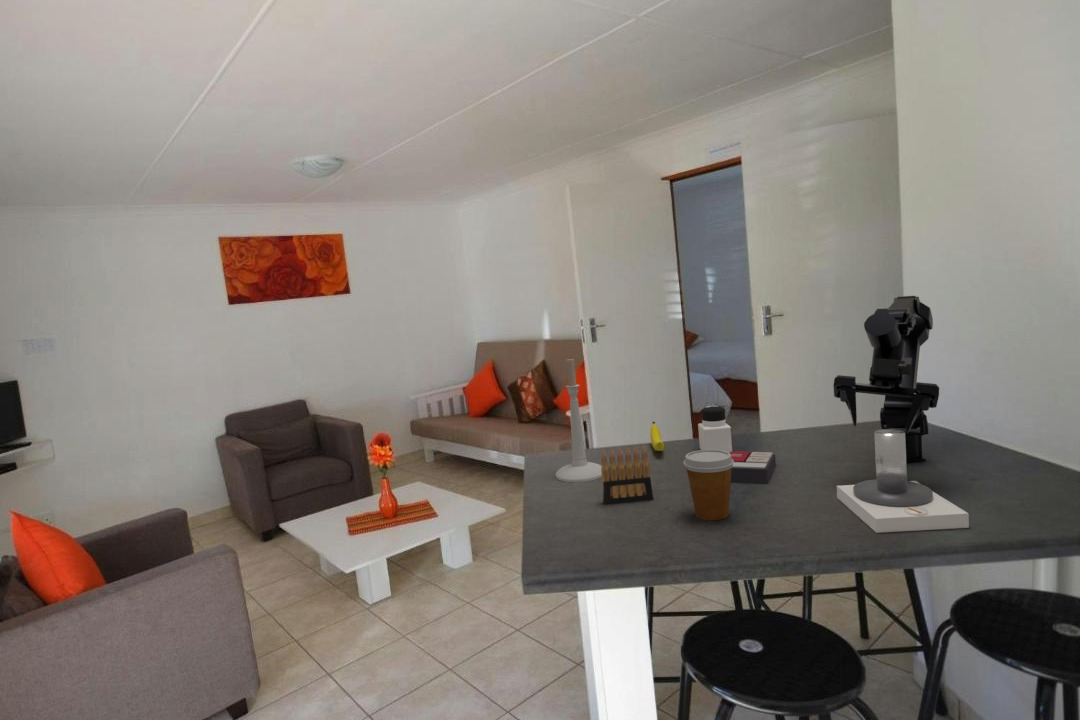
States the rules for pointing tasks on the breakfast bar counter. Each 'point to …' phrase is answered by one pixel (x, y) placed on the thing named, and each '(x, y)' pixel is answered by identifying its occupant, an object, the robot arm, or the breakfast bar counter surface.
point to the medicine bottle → (714, 430)
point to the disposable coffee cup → (710, 482)
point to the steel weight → (891, 461)
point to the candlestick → (577, 440)
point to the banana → (656, 438)
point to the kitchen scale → (901, 508)
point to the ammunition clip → (626, 478)
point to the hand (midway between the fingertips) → (880, 428)
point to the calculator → (752, 467)
